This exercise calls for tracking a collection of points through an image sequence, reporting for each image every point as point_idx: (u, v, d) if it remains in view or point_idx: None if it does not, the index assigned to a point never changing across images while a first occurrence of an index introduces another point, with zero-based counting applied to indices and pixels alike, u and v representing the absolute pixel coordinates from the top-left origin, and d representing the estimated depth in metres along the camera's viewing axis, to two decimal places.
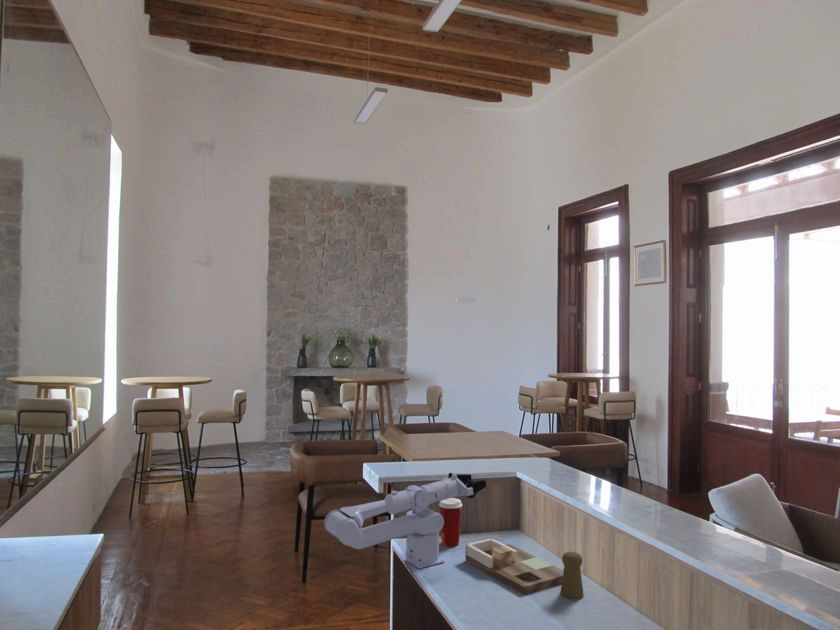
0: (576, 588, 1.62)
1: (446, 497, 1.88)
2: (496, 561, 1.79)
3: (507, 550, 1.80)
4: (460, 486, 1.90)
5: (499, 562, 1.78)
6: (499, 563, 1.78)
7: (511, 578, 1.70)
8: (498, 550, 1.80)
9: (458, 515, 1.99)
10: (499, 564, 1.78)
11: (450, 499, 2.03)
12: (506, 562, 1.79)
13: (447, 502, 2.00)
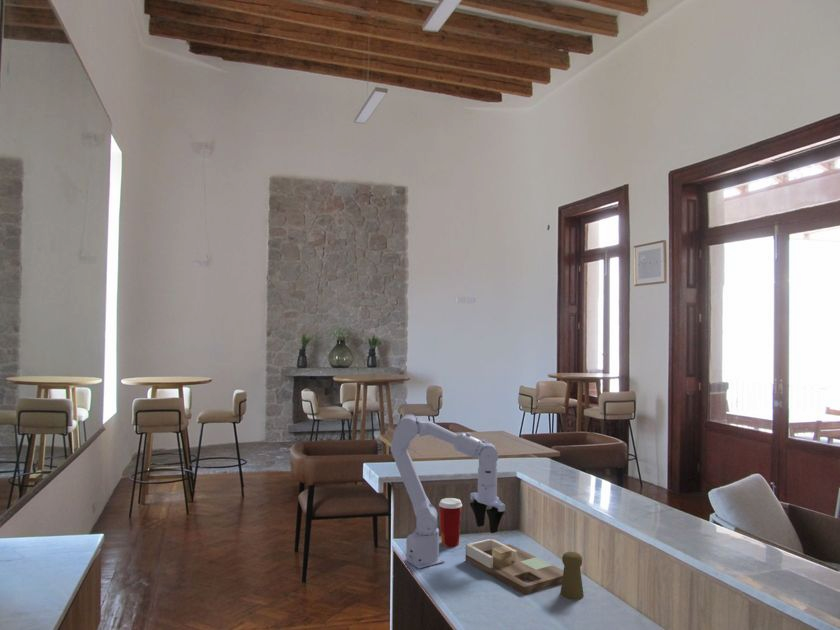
0: (576, 588, 1.62)
1: (487, 485, 1.84)
2: (496, 561, 1.79)
3: (507, 550, 1.80)
4: (495, 501, 1.84)
5: (499, 562, 1.78)
6: (499, 563, 1.78)
7: (511, 578, 1.70)
8: (498, 550, 1.80)
9: (458, 515, 1.99)
10: (499, 564, 1.78)
11: (450, 499, 2.03)
12: (506, 562, 1.79)
13: (447, 502, 2.00)
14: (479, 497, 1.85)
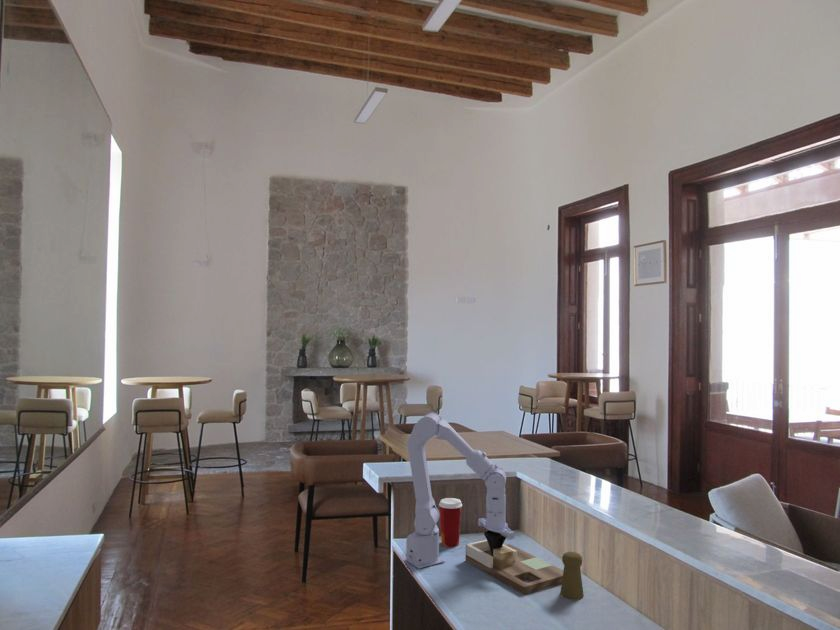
0: (576, 588, 1.62)
1: (496, 512, 1.80)
2: (497, 561, 1.79)
3: (508, 551, 1.80)
4: (504, 528, 1.81)
5: (501, 563, 1.78)
6: (500, 564, 1.78)
7: (511, 578, 1.70)
8: (499, 550, 1.79)
9: (458, 515, 1.99)
10: (500, 565, 1.78)
11: (450, 499, 2.03)
12: (508, 562, 1.79)
13: (447, 502, 2.00)
14: (487, 524, 1.82)
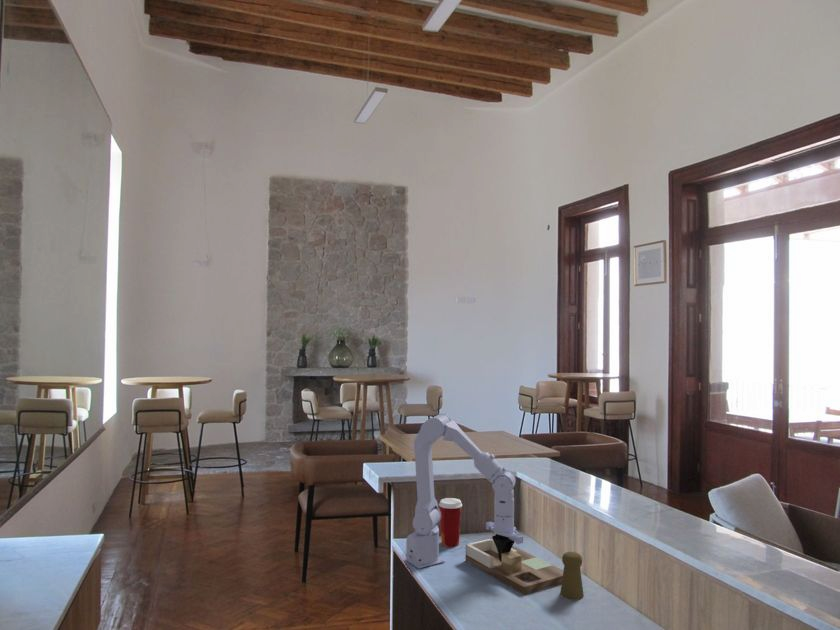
0: (576, 588, 1.62)
1: (504, 516, 1.77)
2: (506, 566, 1.76)
3: (517, 555, 1.76)
4: (512, 532, 1.78)
5: (509, 568, 1.74)
6: (509, 568, 1.75)
7: (511, 578, 1.70)
8: (508, 555, 1.76)
9: (458, 515, 1.99)
10: (509, 569, 1.75)
11: (450, 499, 2.03)
12: (516, 567, 1.75)
13: (447, 502, 2.00)
14: (496, 528, 1.78)
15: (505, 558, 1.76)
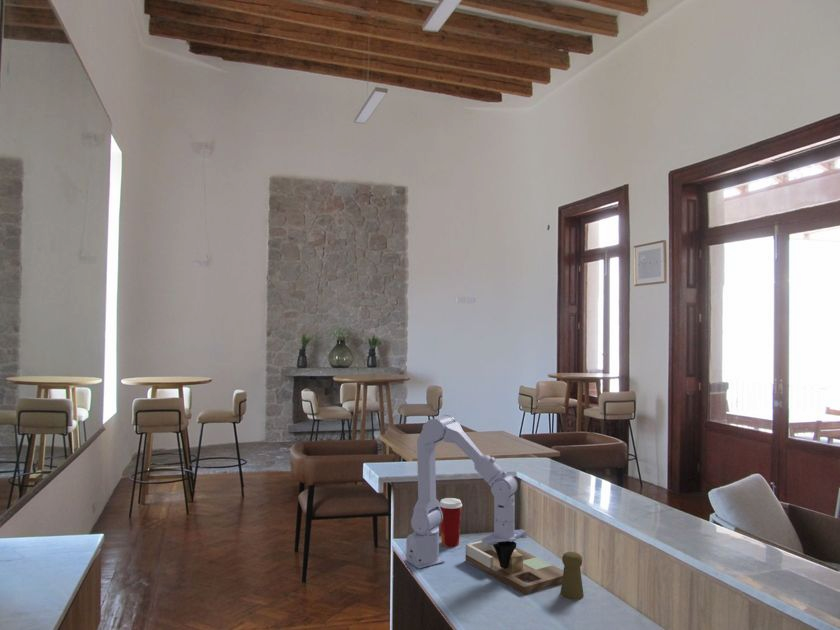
0: (576, 588, 1.62)
1: (494, 518, 1.75)
2: None
3: (518, 555, 1.77)
4: (497, 538, 1.73)
5: (511, 567, 1.75)
6: (510, 568, 1.75)
7: (511, 578, 1.70)
8: None
9: (458, 515, 1.99)
10: (510, 569, 1.75)
11: (450, 499, 2.03)
12: (518, 567, 1.76)
13: (447, 502, 2.00)
14: None
15: None
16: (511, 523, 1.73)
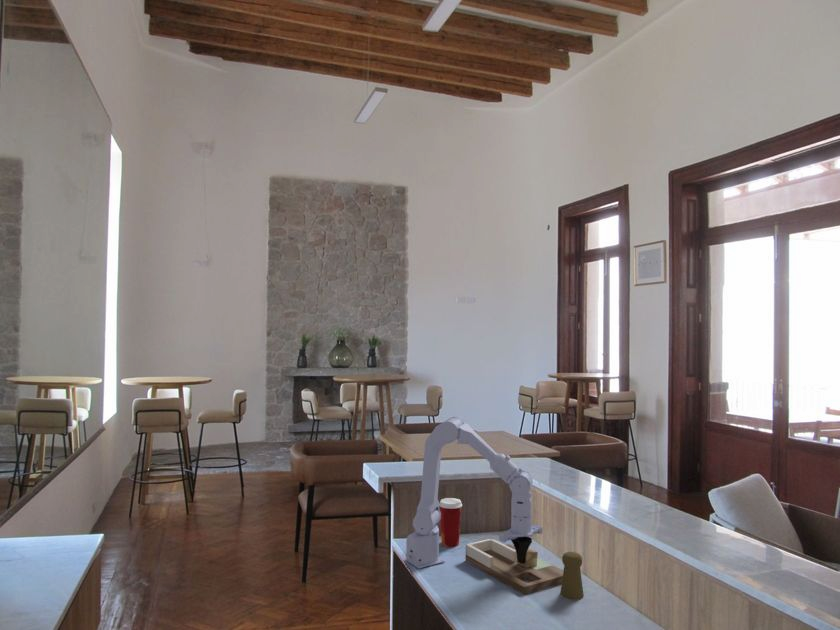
0: (576, 588, 1.62)
1: (511, 513, 1.79)
2: None
3: (533, 551, 1.79)
4: (515, 533, 1.76)
5: (525, 563, 1.77)
6: (525, 563, 1.78)
7: (511, 578, 1.70)
8: None
9: (458, 515, 1.99)
10: (525, 564, 1.77)
11: (450, 499, 2.03)
12: (532, 563, 1.78)
13: (447, 502, 2.00)
14: None
15: None
16: (528, 519, 1.76)
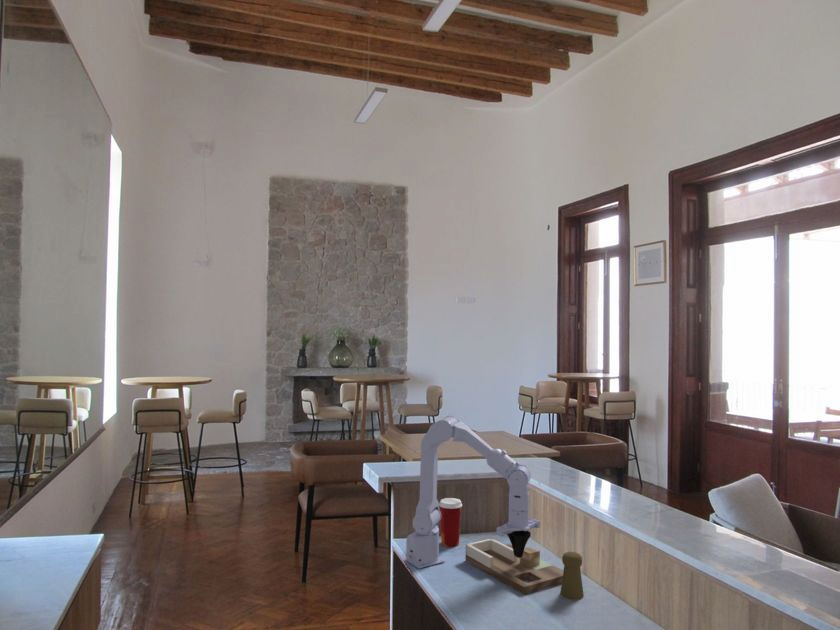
0: (576, 588, 1.62)
1: (509, 507, 1.78)
2: (524, 561, 1.79)
3: (535, 550, 1.80)
4: (512, 527, 1.76)
5: (528, 563, 1.78)
6: (528, 563, 1.78)
7: (511, 578, 1.70)
8: (526, 550, 1.80)
9: (458, 515, 1.99)
10: (527, 564, 1.78)
11: (450, 499, 2.03)
12: (535, 562, 1.79)
13: (447, 502, 2.00)
14: None
15: (524, 553, 1.80)
16: (526, 513, 1.76)
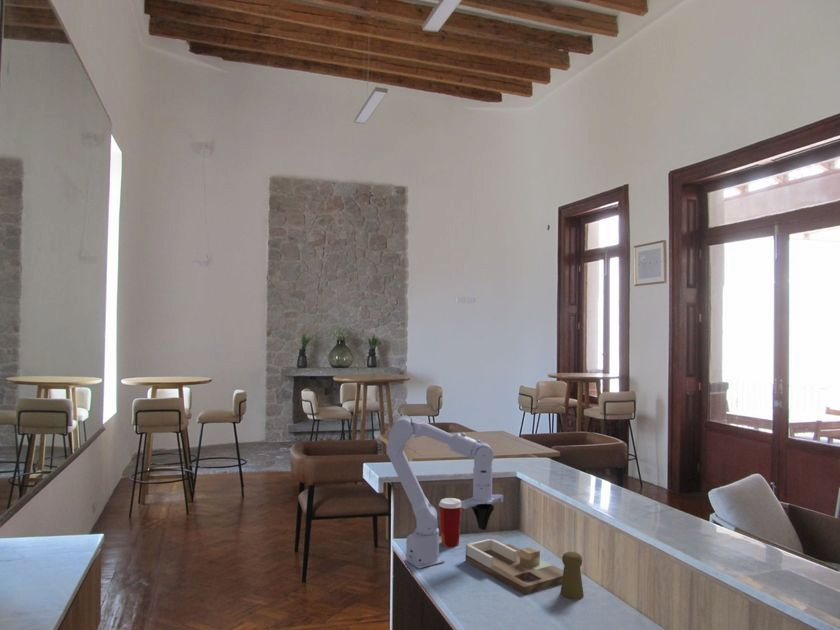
0: (576, 588, 1.62)
1: (473, 482, 1.87)
2: (524, 561, 1.79)
3: (535, 550, 1.80)
4: (476, 501, 1.85)
5: (528, 563, 1.78)
6: (528, 563, 1.78)
7: (511, 578, 1.70)
8: (526, 550, 1.80)
9: (458, 515, 1.99)
10: (527, 564, 1.78)
11: (450, 499, 2.03)
12: (535, 562, 1.79)
13: (447, 502, 2.00)
14: None
15: (524, 553, 1.80)
16: (489, 487, 1.85)
